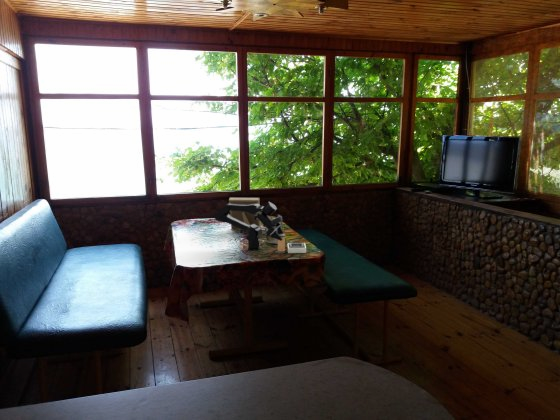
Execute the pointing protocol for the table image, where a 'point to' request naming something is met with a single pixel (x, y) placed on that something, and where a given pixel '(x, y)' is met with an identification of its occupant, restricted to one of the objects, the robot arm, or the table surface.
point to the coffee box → (270, 239)
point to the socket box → (296, 248)
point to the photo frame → (243, 215)
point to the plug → (281, 243)
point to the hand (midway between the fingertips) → (283, 238)
